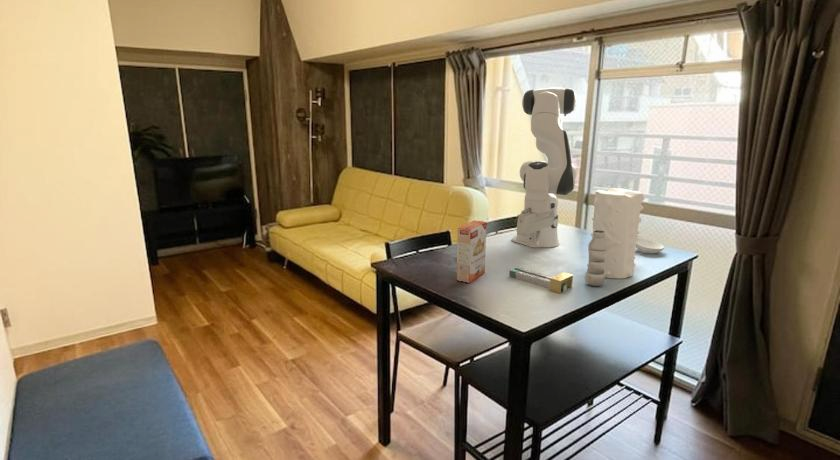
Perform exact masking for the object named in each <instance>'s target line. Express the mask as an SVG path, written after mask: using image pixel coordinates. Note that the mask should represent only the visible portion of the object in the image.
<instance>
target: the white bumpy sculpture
mask: <svg viewBox="0 0 840 460" xmlns="http://www.w3.org/2000/svg"><path fill="white" fill-rule="evenodd" d="M643 201H645V196H644V194H643V192H642V191H639V190H631V189H627V188H622V187H621V188H619V187H617V188H616V187H610V188H608V190H603V189H596V190H595V192H594V199H593V217H592V218H591V219H592V232H591V233H590V236H591V240H592V239H593V238H594V237H593V232H594V231H595V230H600V231H604V232H605V237H604V240H605V241H606V243H607V245H608V249H607V253H606V257H605V263H604V274H605V278H609V279H626V278H629V277H632V276H633V275H634V268H635V266H636V263H635V259H636V255H635V254H636V251H637V250H638V249H637V248H636V242H637V241H638V239H637V236H639V234H640V231H639V224H640V223H641V222H642V218H641V217H640V215H641V211H643V210H644V209H645V207H644V206H643V205H642V202H643ZM586 266H587V268H588V263H587V265H586Z"/></svg>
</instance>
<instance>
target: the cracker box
mask: <svg viewBox="0 0 840 460" xmlns="http://www.w3.org/2000/svg"><path fill="white" fill-rule="evenodd" d="M487 223H488V222H487V221H484V220H471V221H469V222H468V223H465V224H462V225H461V226H458V227H457V239H456V241H457V243H456V244H457V245H456V246H457V247H456V254H457V255H456V281H457V280H458V281H457V282H461V281H463V282H462V283H465V282H467V283H466V284H470V283H472V282H474V281H475V280H476V279H478V278H480V277H481V276H482V275H483V274H486V253H487V252H486V248H487V247H486V246H487V245H486V244H487ZM480 275H481V276H480Z"/></svg>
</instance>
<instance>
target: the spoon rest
mask: <svg viewBox="0 0 840 460" xmlns="http://www.w3.org/2000/svg"><path fill="white" fill-rule="evenodd" d="M637 239H638V241H637V242H636V249H637V250H638V252H640V253H643V254H645V255H654V254H658V253H660V252H662V251H663V250H664V249H665V245H663V244H662V243H660V242H657V241H653V240H650V239H648V238H644V237H642V236H639V235H637Z"/></svg>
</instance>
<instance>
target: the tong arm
mask: <svg viewBox="0 0 840 460" xmlns="http://www.w3.org/2000/svg"><path fill="white" fill-rule="evenodd" d="M513 269H515V270H519V271H521V272H525V273H528V274H532V275H535V276H539V277H542V278H546V279H549V280H550V278H552V277H553V276H551V275H547V274H544V273H540V272H537V271H533V270H529V269H526V268H523V267H520V266H516V267H513Z"/></svg>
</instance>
